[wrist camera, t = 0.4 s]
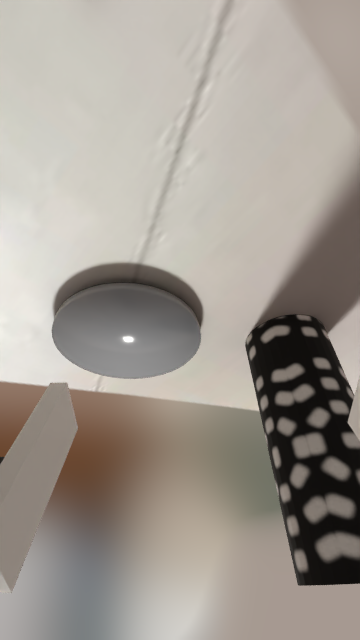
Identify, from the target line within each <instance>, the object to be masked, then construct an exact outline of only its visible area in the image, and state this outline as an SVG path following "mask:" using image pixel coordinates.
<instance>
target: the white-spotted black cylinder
mask: <svg viewBox="0 0 360 640" xmlns="http://www.w3.org/2000/svg"><path fill="white" fill-rule="evenodd" d="M245 346H246V351H247V355H248V360H249V364H250V369H251V373H252V378H253V383H254V387H255V392H256V396H257V401H258V405H259V410H260V414H261V419H262V423H263V428H264V432H265V437H266V442H267V446H268V451H269V455H270V460H271V464H272V469H273V473H274V478H275V482H276V487H277V492H278V496H279V501H280V505H281V510H282V514H283V519H284V524H285V528H286V532H287V537H288V542H289V546H290V551H291V555H292V560H293V564H294V569H295V573H296V578H297V583H298V585H335V584H358V583H360V441H359V439H358V438H357V436H356V435H355V433H354V432H353V430H352V429H351V427H350V425H349V424H348V419H349V415H350V411H351V407H352V403H353V400H354V394H353V392H352V389H351V387H350V385H349V383H348V380H347V378H346V376H345V373H344V371H343V369H342V367H341V364H340V362H339V360H338V358H337V355H336V353H335V351H334V348H333V346H332V344H331V342H330V339H329V337H328V335H327V332H326V330H325V328H324V326H323V324H322V323H321V322H320V321H319V320H317V319H316V318H313V317H311V316H306V315H288V316H283V317H278V318H275V319H272V320H270V321H267V322H265V323H263V324H262V325H260V326H259V327H257V328H256V329H255V330H253V331H252V332H251V334H250V335H249V336H248V338H247V340H246V345H245Z"/></svg>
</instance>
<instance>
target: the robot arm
mask: <svg viewBox="0 0 360 640" xmlns="http://www.w3.org/2000/svg"><path fill="white" fill-rule="evenodd" d="M348 424H349V425H350V427H351V429H352V430H353V432H354V433H355V435H356V436H357V438H358V439H359V441H360V377H359V381H358V384H357V388H356V392H355V396H354V400H353V403H352V407H351V411H350V415H349V419H348ZM77 429H78V426H77V423H76V418H75V414H74V410H73V405H72V401H71V397H70V393H69V388H68V384H67V383H50V384H49V386H48V388H47V389H46V391H45V393H44V394H43V396H42V397H41V399H40V401H39V403H38V404H37V406H36V407H35V409H34V410H33V412H32V414H31V415H30V417H29V419H28V420H27V422H26V424H25V425H24V427H23V428H22V430H21V432H20V433H19V435H18V437H17V438H16V440H15V442H14V443H13V445H12V446H11V448H10V450H9V451H8V453H7V454H6V456H5V457H0V593H12V591H13V588H14V586H15V583H16V580H17V578H18V576H19V573H20V571H21V568H22V566H23V563H24V561H25V558H26V556H27V553H28V551H29V548H30V546H31V543H32V541H33V538H34V536H35V533H36V531H37V528H38V526H39V524H40V521H41V518H42V516H43V513H44V511H45V508H46V506H47V504H48V501H49V498H50V496H51V494H52V491H53V489H54V486H55V484H56V481H57V478H58V476H59V474H60V471H61V469H62V466H63V464H64V461H65V459H66V456H67V454H68V451H69V449H70V446H71V444H72V441H73V439H74V437H75V434H76V432H77Z"/></svg>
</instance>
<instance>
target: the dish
mask: <svg viewBox="0 0 360 640" xmlns="http://www.w3.org/2000/svg"><path fill="white" fill-rule="evenodd" d="M52 337H53V341H54V343H55V345H56V347H57V349H58V350H59V351H60V352H61V354H62V355H63V356H64V357H65V358H67V359H68V360H69V361H71V362H72V363H74V364H75V365H77V366H79V367H81V368H83V369H85V370H87V371H90V372H93V373H96V374H99V375H103V376H108V377H114V378H124V379H138V378H148V377H154V376H159V375H162V374H166V373H168V372H171V371H173V370H176V369H178V368H179V367H181V366H183V365H184V364H186V363H187V362H188V361H189V360H190V359H191V358H192V357H193V356H194V355H195V354H196V352H197V350H198V348H199V345H200V341H201V334H200V326H199V322H198V319H197V317H196V315H195V313H194V312H193V310H192V309H191V308H190V307H189V306H188V305H187V304H186V303H185V302H183V301H182V300H181V299H179V298H178V297H176V296H174V295H173V294H170V293H168V292H166V291H164V290H161V289H158V288H155V287H151V286H147V285H142V284H135V283H109V284H102V285H97V286H93V287H90V288H87V289H84V290H82V291H80V292H78V293H76V294H74V295H72V296H71V297H70V298H68V299H67V300H66V301H65V302H64V303H63V304H62V305H61V306H60V308H59V309H58V311H57V313H56V316H55V319H54V322H53V326H52Z"/></svg>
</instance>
